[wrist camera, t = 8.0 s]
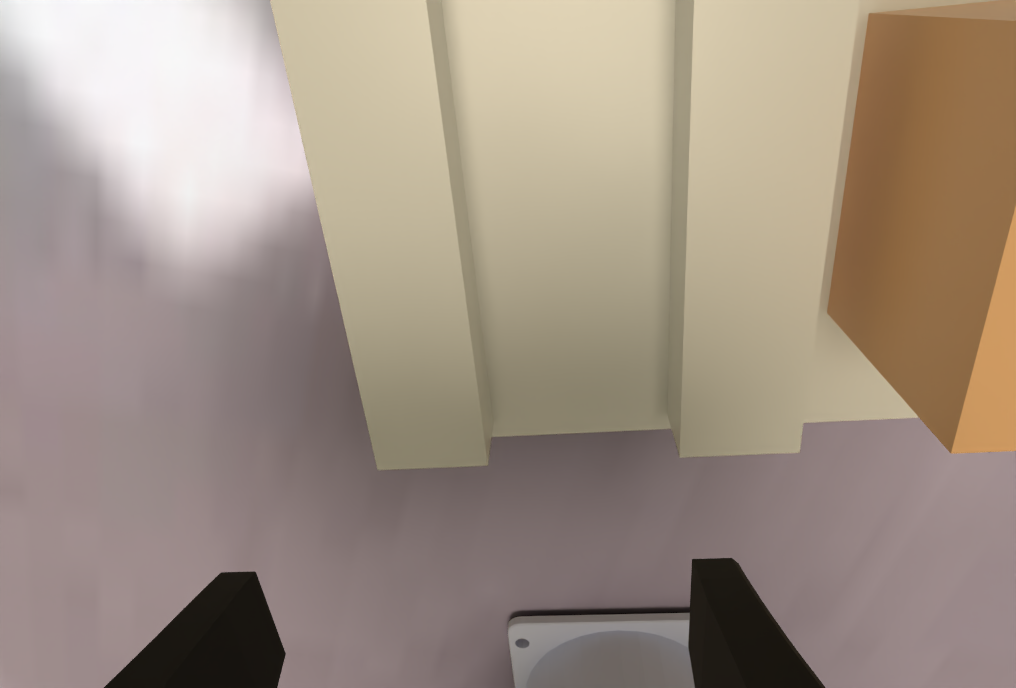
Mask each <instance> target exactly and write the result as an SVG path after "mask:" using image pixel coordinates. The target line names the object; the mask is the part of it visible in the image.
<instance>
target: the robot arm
mask: <svg viewBox="0 0 1016 688" xmlns="http://www.w3.org/2000/svg"><path fill="white" fill-rule="evenodd" d="M521 638H522V639H521ZM508 640H509V648H510V655H511V662H512V670H513V677H514V685H515V688H825V686H824V685H823V684H822V683H821V681H820V680H819V679H818V677H817V676H816V675H815V673H814V672H813V671H812V670H811V668H810V667H809V666H808V664H807V663H806V662H805V660H804V659H803V658H802V657H801V655H800V654H799V653H798V651H797V650H796V649H795V647H794V646H793V644H792V643H791V642H790V640H789V639H788V638H787V636H786V635H785V633H784V632H783V631H782V629H781V628H780V626H779V625H778V623H777V622H776V621H775V619H774V618H773V616H772V615H771V613H770V612H769V611H768V609H767V608H766V606H765V605H764V603H763V602H762V600H761V599H760V597H759V596H758V594H757V593H756V591H755V590H754V588H753V586H752V585H751V583H750V582H749V580H748V579H747V577H746V575H745V574H744V572H743V571H742V569H741V567H740V565H739V564H738V563H737V562H736V561H735V560H733V559H732V558H718V559H692V576H691V597H690V613H654V614H607V615H560V616H520V617H515V618H513V619H511V620H510V621H509V623H508ZM284 658H285V651H284V648H283V645H282V643H281V640H280V637H279V634H278V632H277V629H276V626H275V624H274V621H273V618H272V615H271V613H270V610H269V607H268V604H267V602H266V599H265V596H264V593H263V591H262V588H261V585H260V583H259V580H258V577H257V574H256V572H225V573H220V574H219V575H218V576H217V577H216V578H215V579H214V580H213V581H212V582H211V583H210V584H209V585H208V586H207V587H205V588H204V589H203V590H202V591H201V592H200V593H199V594H198V595H197V596H196V597H195V598H194V599H193V600H192V601H191V602H190V603H189V604H188V605H187V606H186V607H185V608H184V609H183V610H182V611H181V612H180V613H179V614H178V615H177V616H176V617H175V618H174V619H173V620H172V621H171V622H170V623H169V624H168V625H167V626H166V627H165V628H164V629H163V630H162V631H161V632H160V633H159V634H158V635H157V636H156V637H155V638H154V639H153V640H152V641H151V642H150V643H149V644H148V645H147V646H146V647H145V648H144V649H143V650H142V651H141V652H140V653H139V654H138V655H137V656H136V657H135V658H134V659H133V660H132V661H131V662H130V663H129V664H128V665H127V666H126V667H125V668H124V669H123V670H122V671H121V672H119V673H118V674H117V675H116V676H115V677H114V678H113V679H112V680H111V681H110V682H109V683H108V684H107V685H106V686H105V687H104V688H277V686H278V682H279V678H280V674H281V670H282V666H283V662H284Z"/></svg>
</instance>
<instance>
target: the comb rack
mask: <svg viewBox="0 0 1016 688" xmlns="http://www.w3.org/2000/svg"><path fill="white" fill-rule="evenodd" d="M988 1H998V0H270V2H271V6H272V11H273V15H274V20H275V24H276V28H277V33H278V37H279V41H280V46H281V50H282V55H283V59H284V63H285V68H286V72H287V76H288V81H289V85H290V90H291V94H292V98H293V103H294V107H295V111H296V116H297V120H298V125H299V129H300V133H301V138H302V142H303V146H304V151H305V155H306V159H307V164H308V168H309V173H310V177H311V181H312V186H313V190H314V194H315V199H316V203H317V208H318V212H319V216H320V221H321V225H322V229H323V234H324V238H325V243H326V247H327V251H328V256H329V260H330V264H331V269H332V273H333V278H334V282H335V286H336V291H337V295H338V299H339V304H340V308H341V312H342V317H343V321H344V326H345V330H346V334H347V339H348V343H349V347H350V352H351V356H352V361H353V365H354V369H355V374H356V378H357V382H358V387H359V391H360V396H361V400H362V404H363V409H364V413H365V417H366V422H367V426H368V431H369V435H370V439H371V444H372V448H373V452H374V457H375V461H376V466H377V470H396V469H420V468H444V467H468V466H488V462H489V454H490V446H491V438H492V437H504V436H526V435H548V434H570V433H592V432H614V431H635V430H657V429H672V433H673V436H674V440H675V443H676V447H677V450H678V454H679V457H680V458H683V457H707V456H731V455H754V454H778V453H800V446H801V438H802V431H803V423H810V422H832V421H854V420H876V419H898V418H919V417H918V416H917V414H916V413H915V412H914V411H913V410H912V409H911V408H910V407H909V405H908V404H907V403H906V402H905V401H904V400H903V399H902V397H901V396H900V395H899V394H898V393H897V392H896V391H895V390H894V388H893V387H892V386H891V385H890V384H889V383H888V382H887V380H886V379H885V378H884V377H883V376H882V375H881V374H880V373H879V371H878V370H877V369H876V368H875V367H874V366H873V365H872V363H871V362H870V361H869V360H868V359H867V358H866V357H865V355H864V354H863V353H862V352H861V351H860V350H859V349H858V348H857V346H856V345H855V344H854V343H853V342H852V341H851V340H850V338H849V337H848V336H847V335H846V334H845V333H844V332H843V331H842V329H841V328H840V327H839V326H838V325H837V324H836V323H835V321H834V320H833V319H832V318H831V317H830V316H829V315H828V314H827V309H828V302H829V295H830V288H831V280H832V273H833V266H834V259H835V252H836V245H837V237H838V230H839V223H840V216H841V209H842V202H843V194H844V187H845V180H846V173H847V166H848V159H849V151H850V144H851V137H852V130H853V123H854V116H855V108H856V101H857V94H858V87H859V80H860V73H861V65H862V58H863V51H864V44H865V37H866V30H867V22H868V15H869V13H876V12H886V11H896V10H906V9H917V8H927V7H937V6H947V5H957V4H967V3H978V2H988Z"/></svg>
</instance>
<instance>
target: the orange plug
mask: <svg viewBox="0 0 1016 688" xmlns="http://www.w3.org/2000/svg"><path fill="white" fill-rule="evenodd" d="M827 314H828V315H829V316H830V317H831V318H832V319H833V320H834V321H835V323H836V324H837V325H838V326H839V327H840V328H841V329H842V331H843V332H844V333H845V334H846V335H847V336H848V337H849V338H850V340H851V341H852V342H853V343H854V344H855V345H856V346H857V348H858V349H859V350H860V351H861V352H862V353H863V354H864V355H865V357H866V358H867V359H868V360H869V361H870V362H871V363H872V365H873V366H874V367H875V368H876V369H877V370H878V371H879V373H880V374H881V375H882V376H883V377H884V378H885V379H886V380H887V382H888V383H889V384H890V385H891V386H892V387H893V388H894V390H895V391H896V392H897V393H898V394H899V395H900V396H901V397H902V399H903V400H904V401H905V402H906V403H907V404H908V405H909V407H910V408H911V409H912V410H913V411H914V412H915V413H916V414H917V416H918V417H919V418H920V419H921V420H922V421H923V422H924V424H925V425H926V426H927V427H928V428H929V429H930V430H931V431H932V433H933V434H934V435H935V436H936V437H937V438H938V439H939V441H940V442H941V443H942V444H943V445H944V446H945V447H946V448H947V450H948V451H949V452H950V453H976V452H1000V451H1016V0H998V1H988V2H978V3H967V4H957V5H947V6H937V7H927V8H917V9H906V10H896V11H886V12H876V13H869V15H868V22H867V30H866V37H865V44H864V51H863V58H862V65H861V73H860V80H859V87H858V94H857V101H856V108H855V116H854V123H853V130H852V137H851V144H850V151H849V159H848V166H847V173H846V180H845V187H844V194H843V202H842V209H841V216H840V223H839V230H838V237H837V245H836V252H835V259H834V266H833V273H832V280H831V288H830V295H829V302H828V309H827Z"/></svg>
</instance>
